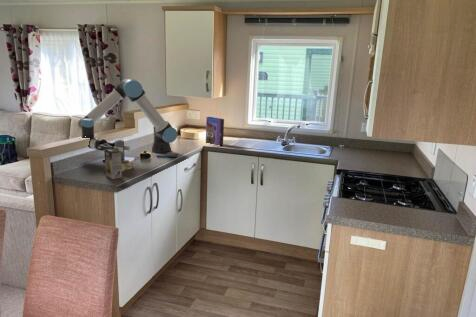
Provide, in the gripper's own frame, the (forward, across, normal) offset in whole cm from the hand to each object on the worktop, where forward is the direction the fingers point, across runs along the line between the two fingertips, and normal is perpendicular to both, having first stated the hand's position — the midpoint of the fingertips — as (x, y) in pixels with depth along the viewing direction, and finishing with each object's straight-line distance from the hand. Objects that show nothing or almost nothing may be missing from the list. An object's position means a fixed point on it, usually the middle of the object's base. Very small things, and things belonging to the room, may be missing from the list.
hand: (126, 149), depth 216 cm
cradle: (-5, 0, -13) cm, 14 cm away
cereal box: (+4, -105, -13) cm, 106 cm away
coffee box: (+4, +15, -14) cm, 20 cm away
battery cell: (-5, 0, -8) cm, 9 cm away
